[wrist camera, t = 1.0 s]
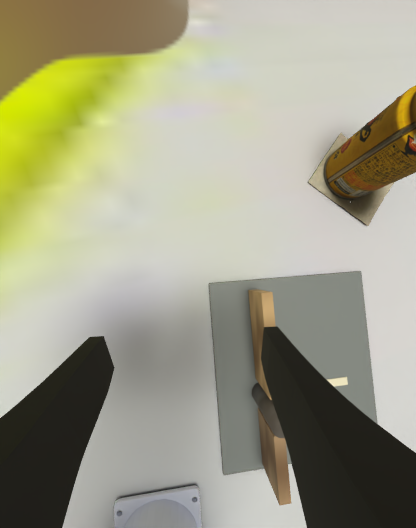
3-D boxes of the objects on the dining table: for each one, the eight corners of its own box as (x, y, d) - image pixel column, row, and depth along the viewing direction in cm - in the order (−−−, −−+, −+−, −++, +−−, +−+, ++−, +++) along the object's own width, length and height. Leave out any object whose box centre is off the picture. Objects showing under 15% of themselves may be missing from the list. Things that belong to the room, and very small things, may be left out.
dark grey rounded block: (276, 461, 23) (303, 514, 18) (257, 464, 23) (278, 519, 18) (269, 380, 23) (293, 410, 18) (250, 383, 23) (269, 414, 18)
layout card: (377, 446, 24) (380, 449, 24) (223, 472, 23) (223, 476, 22) (358, 271, 25) (361, 271, 25) (208, 283, 24) (209, 283, 23)
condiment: (339, 133, 26) (469, 14, 14) (396, 177, 27) (568, 96, 15) (306, 183, 25) (415, 100, 13) (365, 226, 26) (520, 184, 14)
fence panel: (265, 377, 23) (281, 398, 19) (255, 378, 23) (270, 399, 19) (257, 289, 24) (272, 291, 20) (248, 290, 23) (261, 292, 19)
